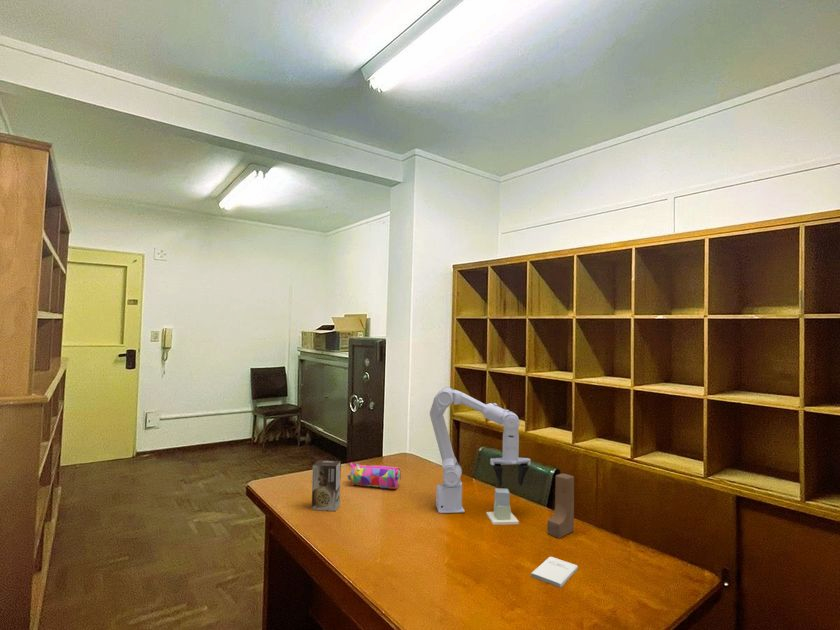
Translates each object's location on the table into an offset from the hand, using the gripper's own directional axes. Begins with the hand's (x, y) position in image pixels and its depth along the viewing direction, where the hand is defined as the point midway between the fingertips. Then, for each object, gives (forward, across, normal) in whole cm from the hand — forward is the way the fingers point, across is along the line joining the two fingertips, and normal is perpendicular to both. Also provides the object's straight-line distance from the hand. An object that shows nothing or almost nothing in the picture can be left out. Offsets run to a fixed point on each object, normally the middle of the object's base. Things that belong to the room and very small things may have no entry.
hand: (510, 484), depth 162 cm
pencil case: (+11, -48, +33) cm, 59 cm away
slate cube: (+5, -4, -4) cm, 8 cm away
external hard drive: (+11, -1, -40) cm, 42 cm away
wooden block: (+11, +12, -16) cm, 23 cm away
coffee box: (+11, -66, +10) cm, 68 cm away
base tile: (+11, -4, -4) cm, 12 cm away
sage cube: (+10, -4, -4) cm, 11 cm away
